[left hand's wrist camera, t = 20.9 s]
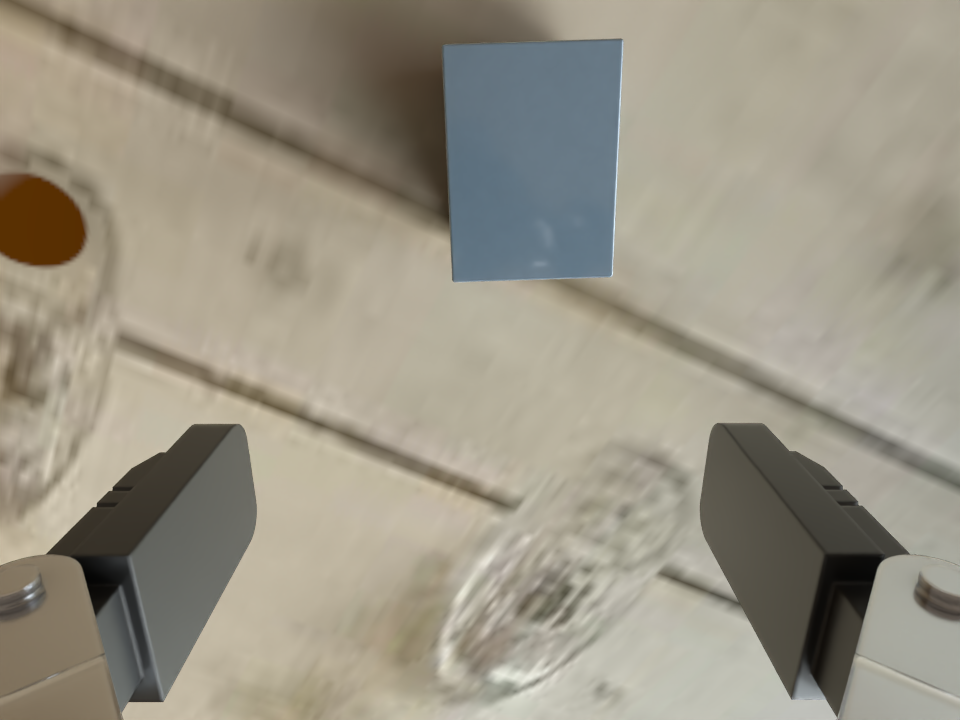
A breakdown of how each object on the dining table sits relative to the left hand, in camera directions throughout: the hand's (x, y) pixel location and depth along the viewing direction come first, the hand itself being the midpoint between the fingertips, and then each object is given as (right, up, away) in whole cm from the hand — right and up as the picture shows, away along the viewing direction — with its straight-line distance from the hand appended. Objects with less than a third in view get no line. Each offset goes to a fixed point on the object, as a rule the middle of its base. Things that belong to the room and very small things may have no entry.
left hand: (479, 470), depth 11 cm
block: (+1, +10, +14) cm, 18 cm away
